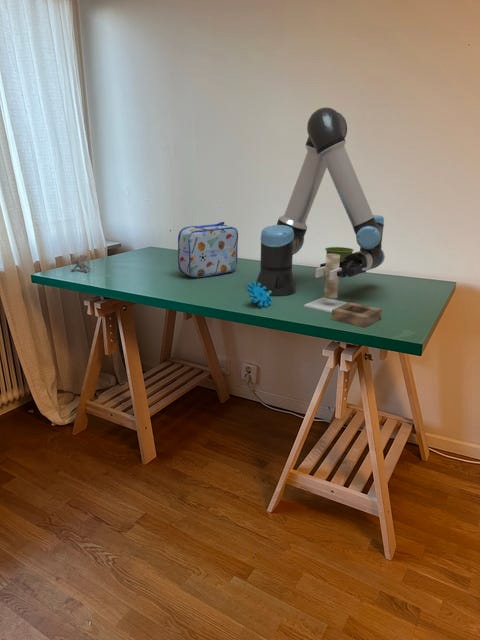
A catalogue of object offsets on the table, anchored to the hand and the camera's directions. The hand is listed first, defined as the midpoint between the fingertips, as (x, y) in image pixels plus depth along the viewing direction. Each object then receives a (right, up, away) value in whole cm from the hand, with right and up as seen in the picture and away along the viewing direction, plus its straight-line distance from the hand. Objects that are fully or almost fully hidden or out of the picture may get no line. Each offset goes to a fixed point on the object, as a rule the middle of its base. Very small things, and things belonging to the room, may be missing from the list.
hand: (323, 274), depth 142 cm
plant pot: (+15, +5, +50) cm, 53 cm away
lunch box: (-39, +5, +51) cm, 65 cm away
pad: (+3, -10, +8) cm, 13 cm away
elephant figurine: (-95, +7, +55) cm, 110 cm away
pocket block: (+9, -14, -5) cm, 17 cm away
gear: (-20, -10, +9) cm, 24 cm away
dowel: (+4, -7, +7) cm, 10 cm away
